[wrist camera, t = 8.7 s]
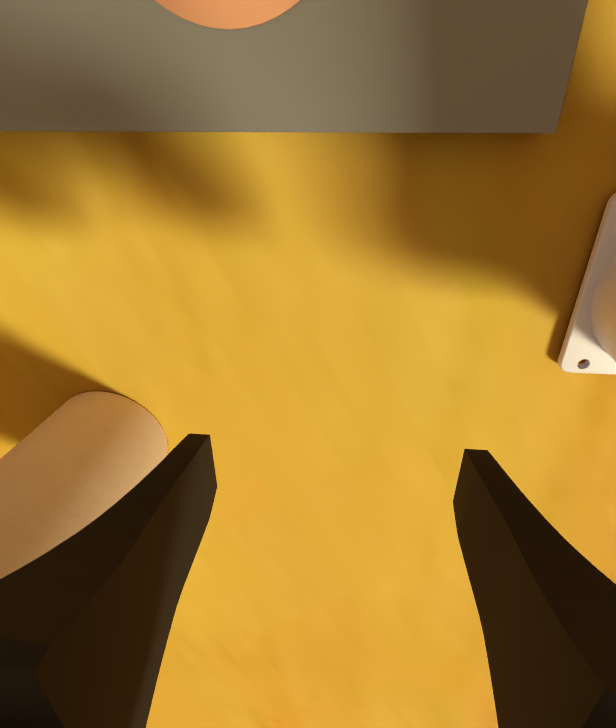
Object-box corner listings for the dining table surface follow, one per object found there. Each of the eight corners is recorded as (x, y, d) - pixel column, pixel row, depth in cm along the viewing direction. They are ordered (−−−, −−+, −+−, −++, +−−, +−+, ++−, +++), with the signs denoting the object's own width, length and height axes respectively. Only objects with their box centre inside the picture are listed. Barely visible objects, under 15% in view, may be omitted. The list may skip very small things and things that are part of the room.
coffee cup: (121, 516, 30) (-50, 829, 18) (-2, 418, 27) (-327, 719, 14) (228, 456, 27) (111, 794, 14) (101, 335, 23) (-207, 635, 11)
